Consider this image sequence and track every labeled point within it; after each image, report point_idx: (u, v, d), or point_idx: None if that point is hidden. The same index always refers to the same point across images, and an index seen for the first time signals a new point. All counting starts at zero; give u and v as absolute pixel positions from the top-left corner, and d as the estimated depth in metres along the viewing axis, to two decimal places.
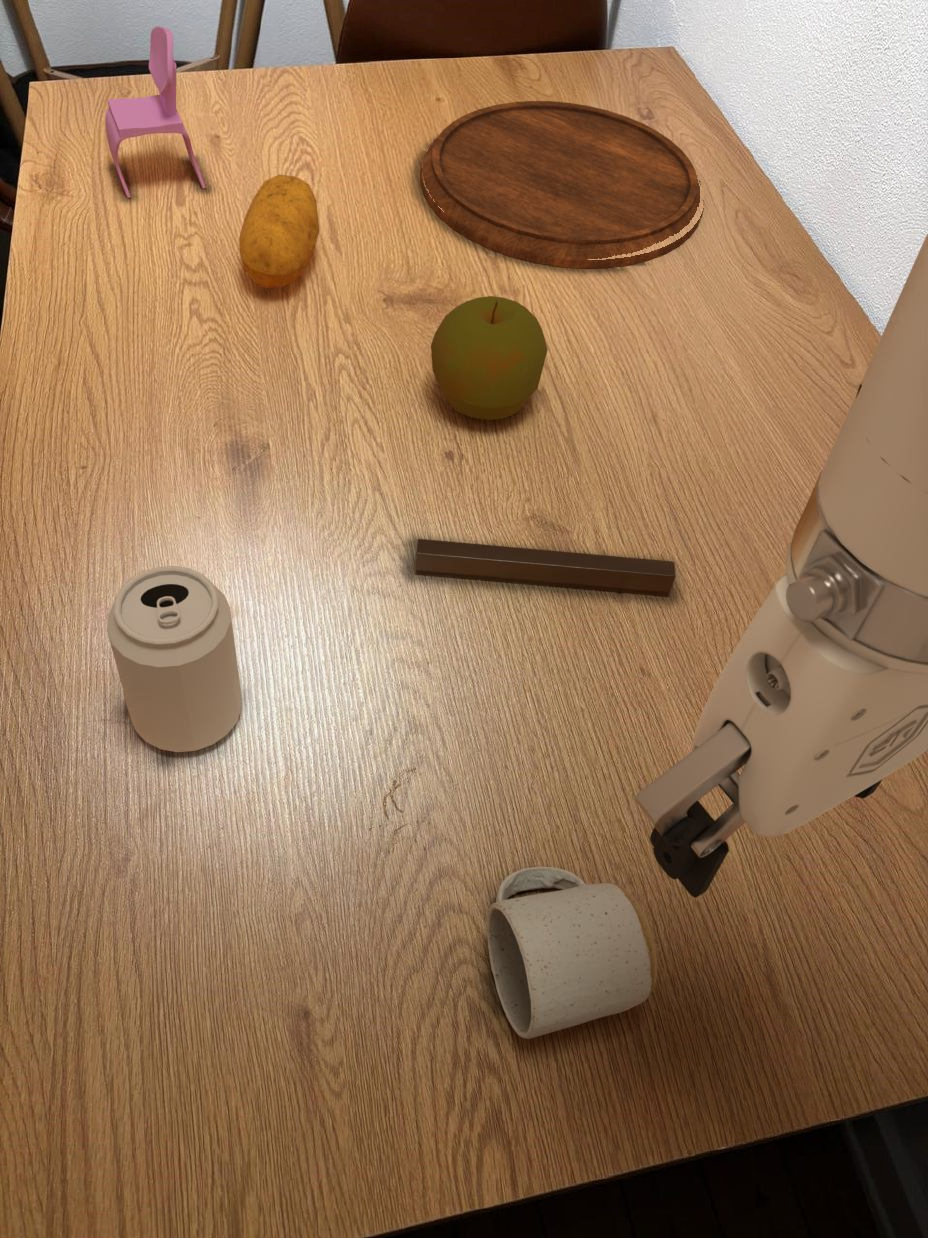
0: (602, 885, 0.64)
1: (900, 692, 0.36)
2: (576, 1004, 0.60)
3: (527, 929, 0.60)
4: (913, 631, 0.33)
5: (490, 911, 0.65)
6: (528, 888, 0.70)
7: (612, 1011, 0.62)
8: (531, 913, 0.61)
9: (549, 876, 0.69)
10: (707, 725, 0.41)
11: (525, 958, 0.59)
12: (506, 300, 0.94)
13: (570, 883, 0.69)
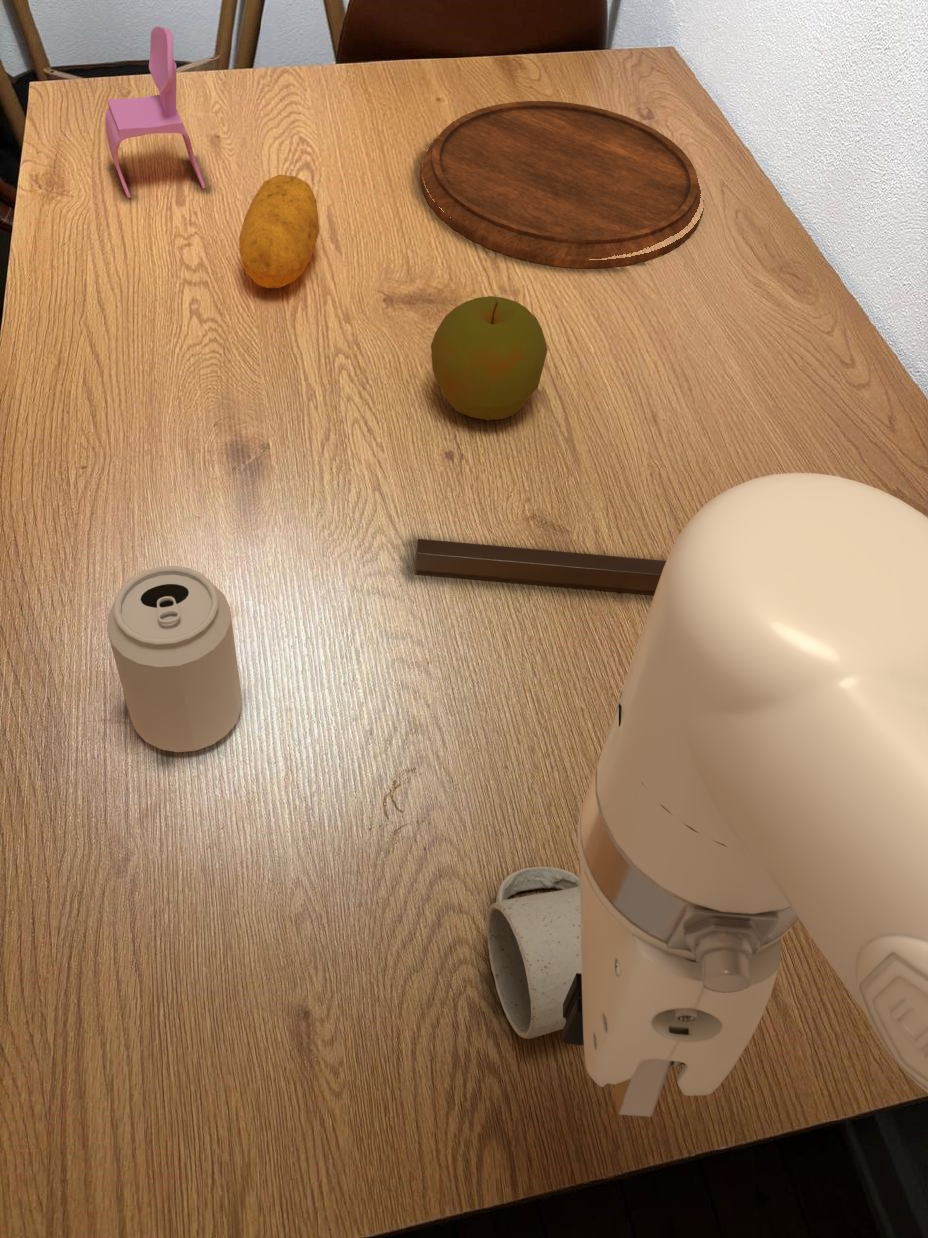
0: None
1: None
2: None
3: (526, 929, 0.60)
4: None
5: (490, 911, 0.65)
6: (528, 888, 0.70)
7: None
8: (531, 913, 0.61)
9: (549, 876, 0.69)
10: (617, 1070, 0.37)
11: (525, 958, 0.59)
12: (506, 300, 0.94)
13: (570, 883, 0.69)
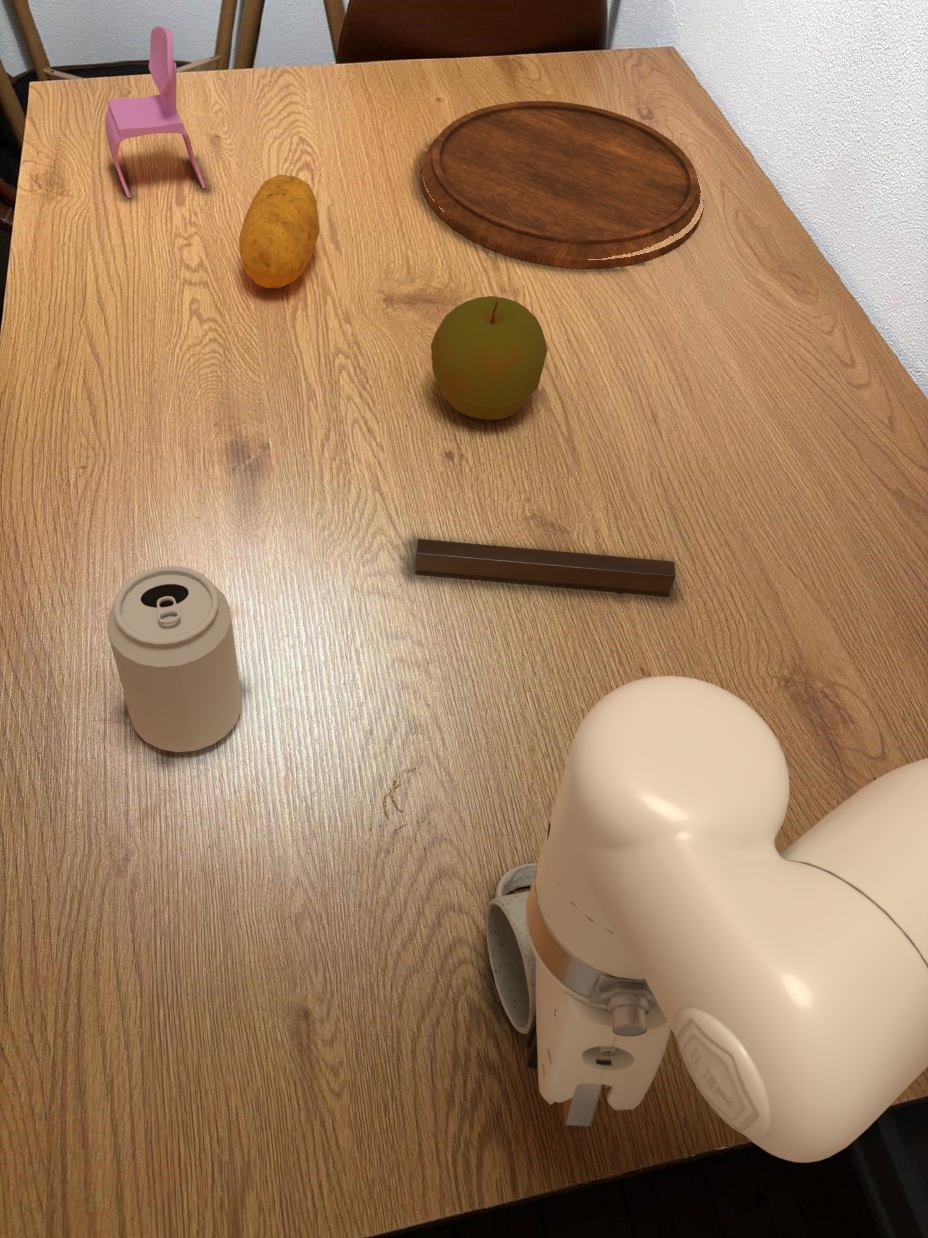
0: None
1: None
2: None
3: None
4: None
5: (489, 907, 0.65)
6: (527, 884, 0.70)
7: None
8: None
9: None
10: (561, 1091, 0.49)
11: (524, 953, 0.60)
12: (506, 300, 0.94)
13: None
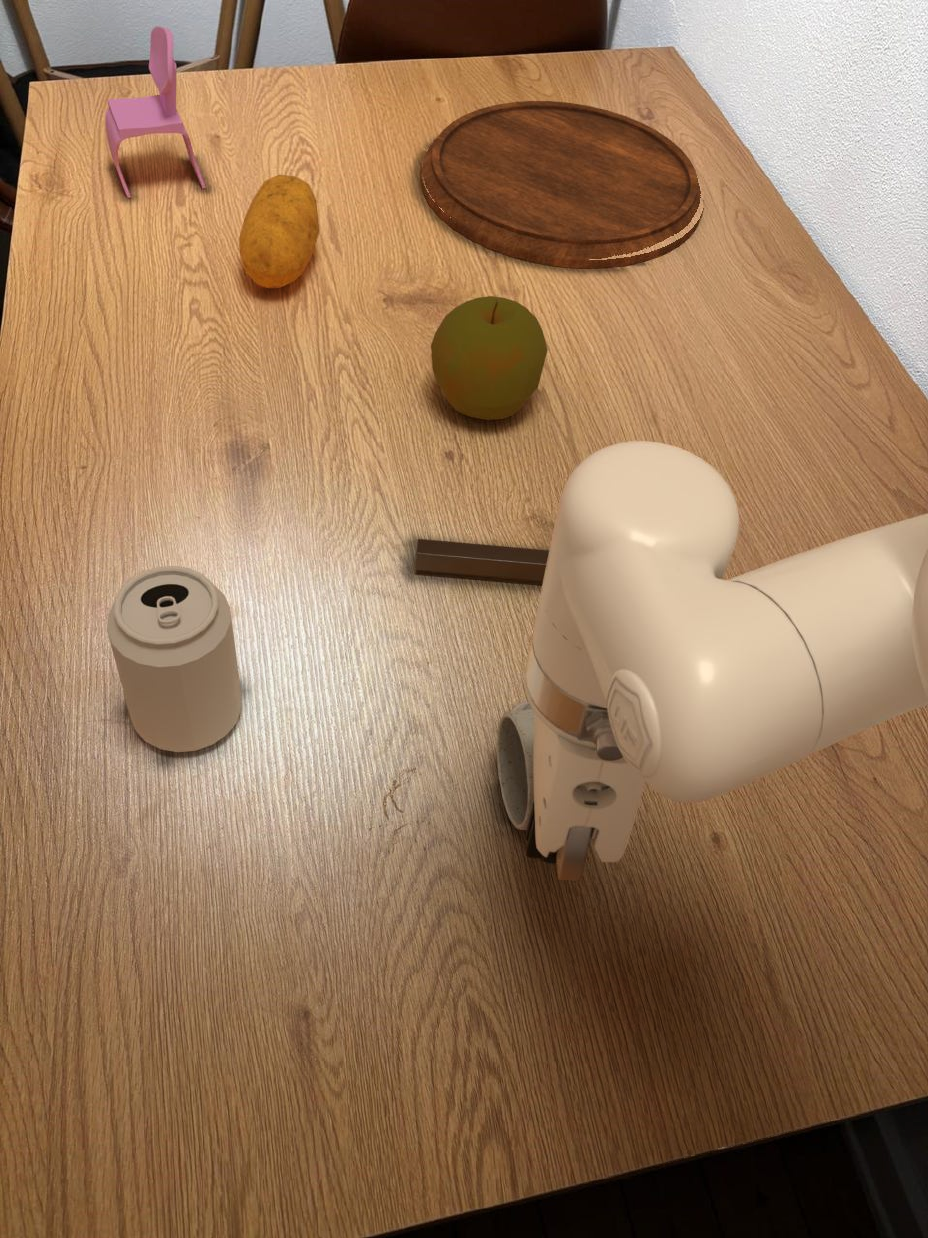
0: None
1: None
2: None
3: (529, 728, 0.69)
4: None
5: (500, 722, 0.73)
6: None
7: None
8: (534, 718, 0.70)
9: None
10: (554, 838, 0.57)
11: (525, 750, 0.68)
12: (506, 300, 0.94)
13: None
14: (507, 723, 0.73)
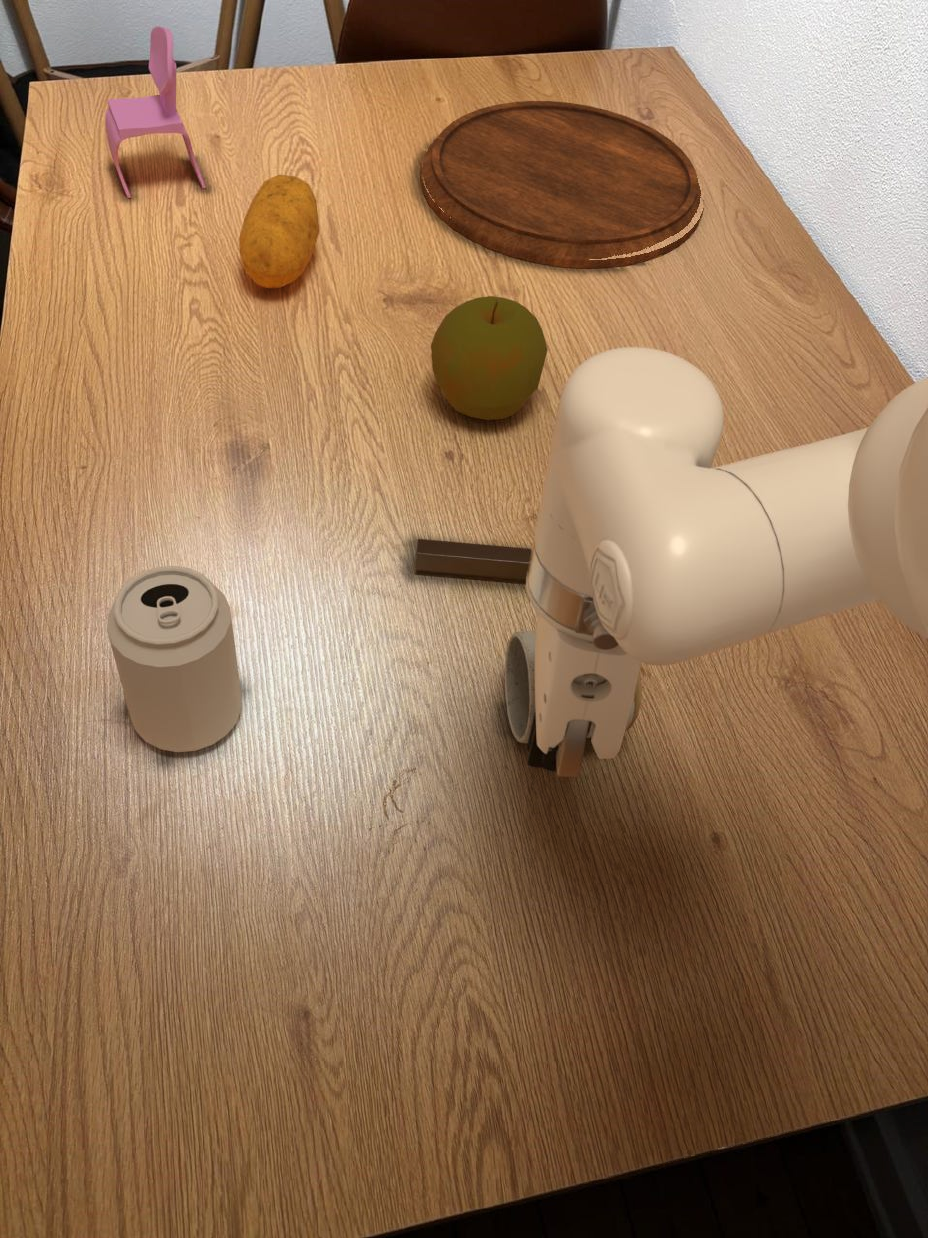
0: None
1: None
2: None
3: (534, 645, 0.73)
4: None
5: (508, 643, 0.77)
6: None
7: None
8: None
9: None
10: (554, 732, 0.61)
11: (529, 665, 0.72)
12: (506, 300, 0.94)
13: None
14: (515, 644, 0.77)
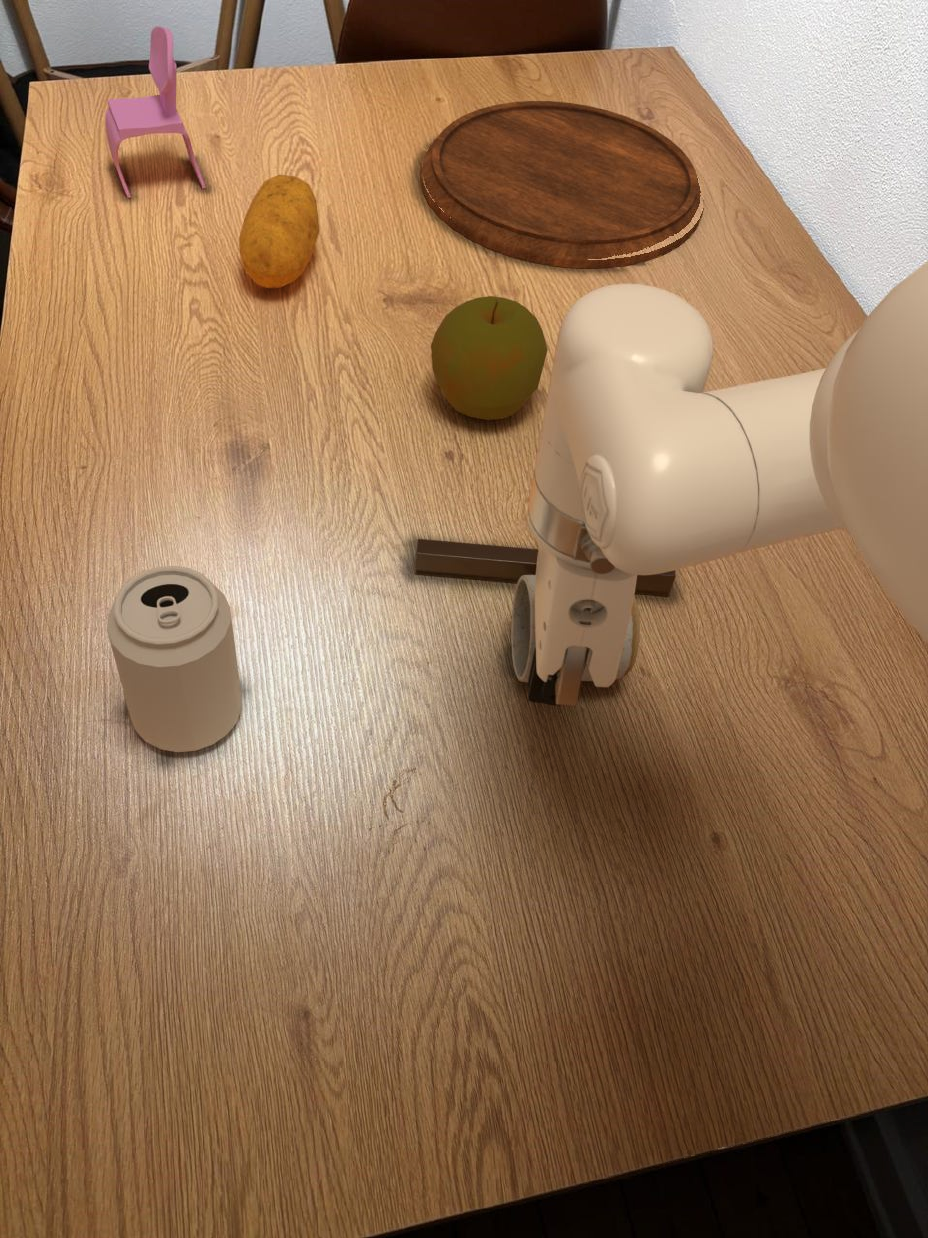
0: None
1: None
2: None
3: None
4: None
5: (516, 587, 0.81)
6: None
7: None
8: None
9: None
10: (553, 659, 0.64)
11: (532, 604, 0.75)
12: (506, 300, 0.94)
13: None
14: (522, 589, 0.81)
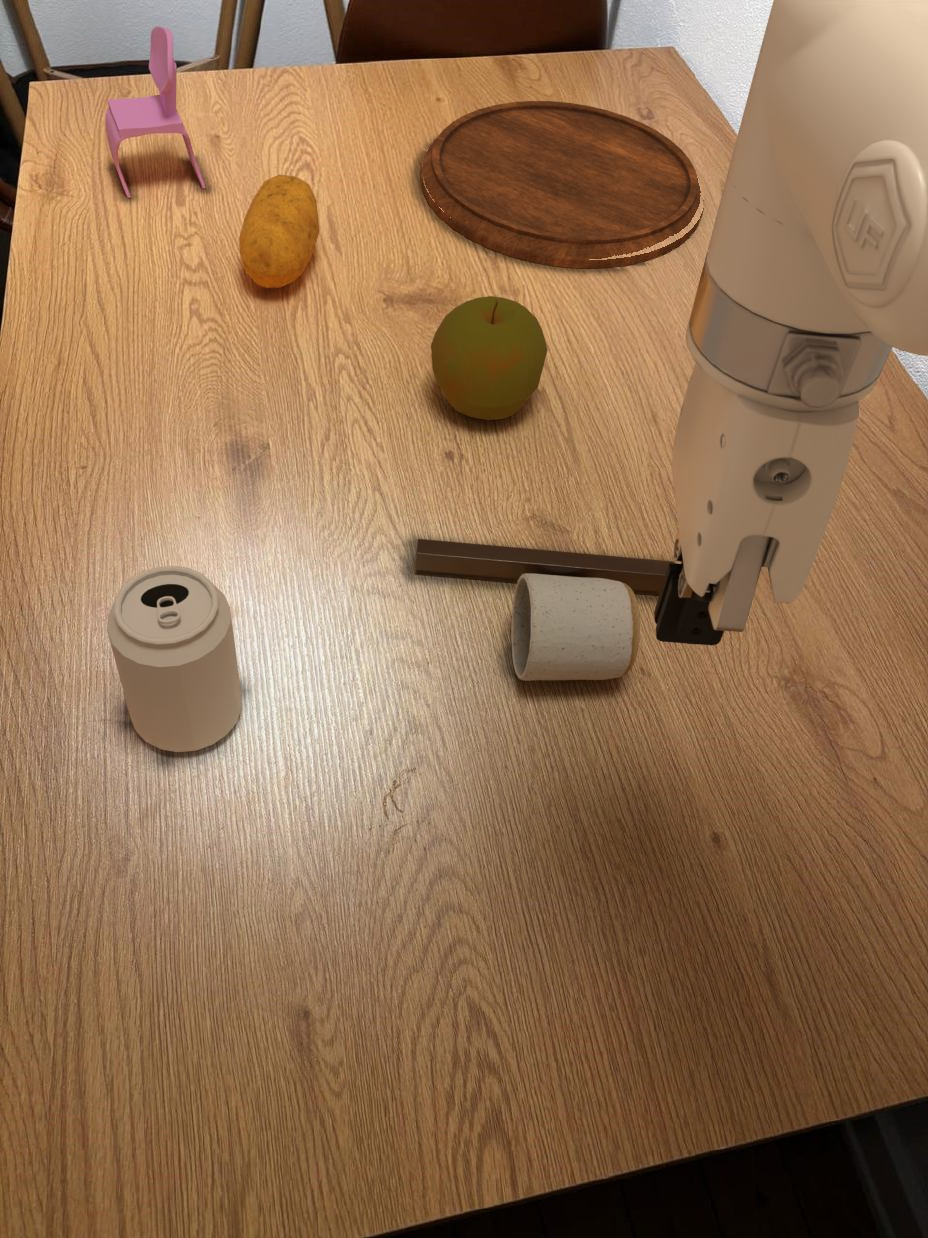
0: (608, 579, 0.80)
1: None
2: (566, 649, 0.76)
3: (538, 585, 0.76)
4: (876, 359, 0.40)
5: (516, 586, 0.81)
6: None
7: (596, 669, 0.77)
8: (545, 578, 0.77)
9: None
10: (719, 558, 0.45)
11: (532, 603, 0.75)
12: (506, 300, 0.94)
13: None
14: (522, 587, 0.81)
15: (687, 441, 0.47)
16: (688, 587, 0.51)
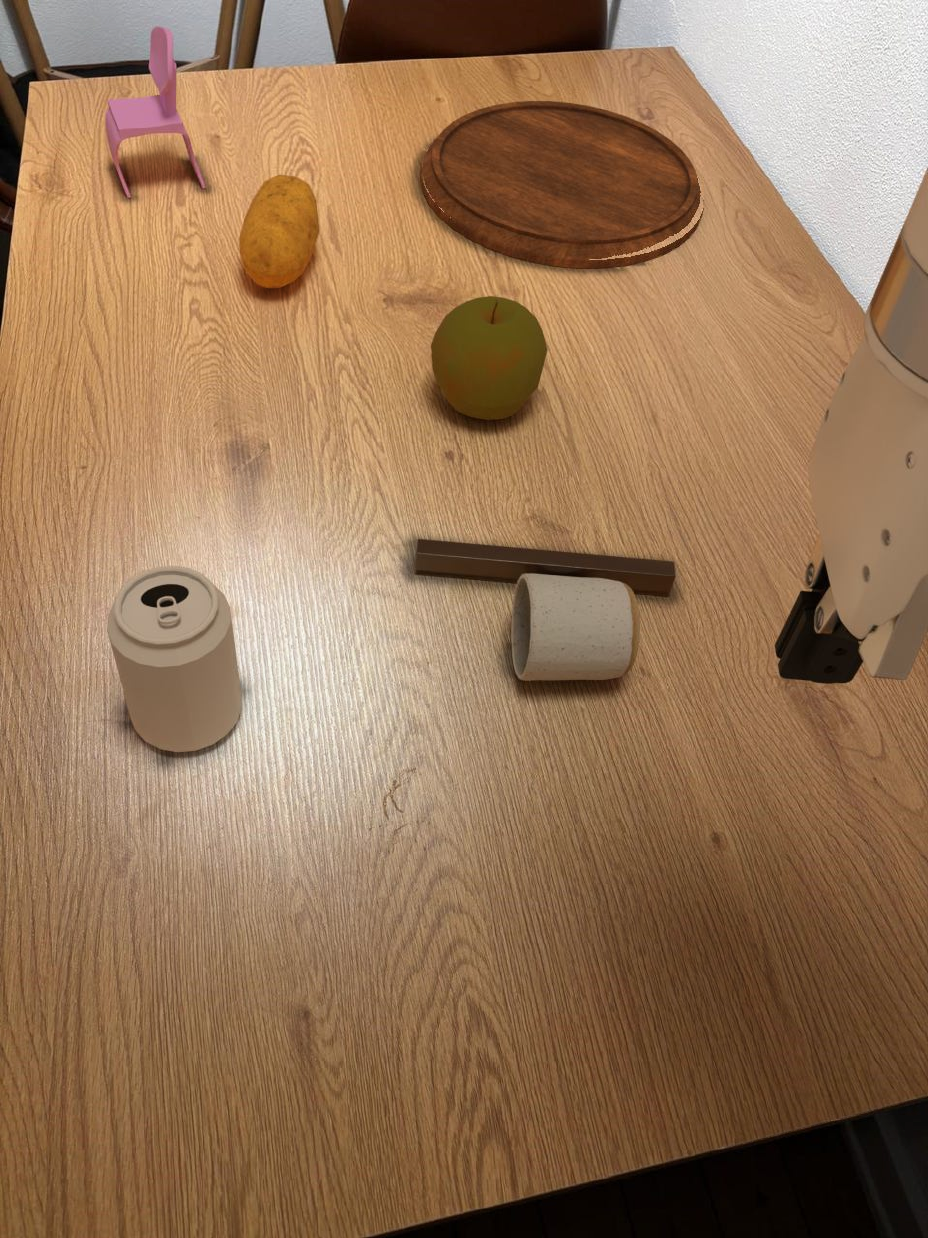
0: (608, 579, 0.80)
1: None
2: (566, 649, 0.76)
3: (538, 585, 0.76)
4: None
5: (516, 586, 0.81)
6: None
7: (596, 669, 0.77)
8: (545, 578, 0.77)
9: None
10: (892, 597, 0.37)
11: (532, 603, 0.75)
12: (506, 300, 0.94)
13: None
14: (522, 587, 0.81)
15: (844, 454, 0.40)
16: (830, 622, 0.43)
